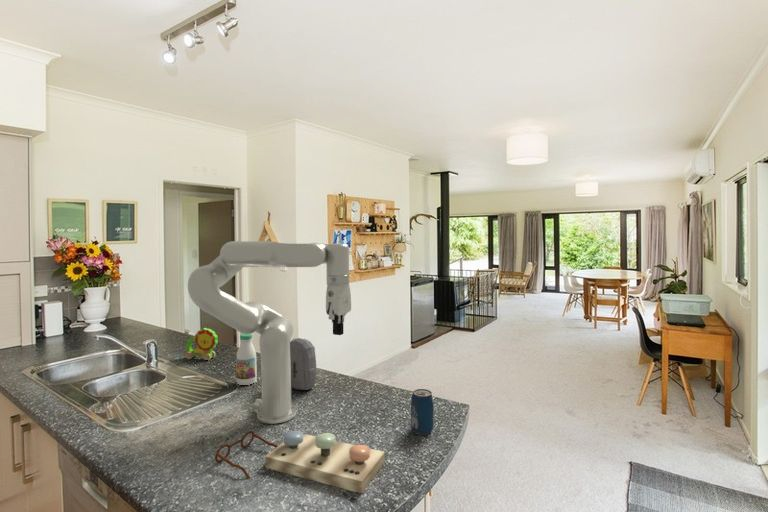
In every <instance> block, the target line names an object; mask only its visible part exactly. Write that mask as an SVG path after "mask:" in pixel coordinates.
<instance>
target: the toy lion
mask: <svg viewBox="0 0 768 512" xmlns="http://www.w3.org/2000/svg"><path fill="white" fill-rule="evenodd" d="M218 338H219V337H218V335H217V333H216V331H214V330H213V329H211V328H207V327H204V328H202V329H200V330H198V331H197V332H196V333H195V334H194V336H191V337H190V338H189V339H188V340H187V342H186V346H185V347H186V350H185V351H186V353H185V354H184V356H185V359H186V358H187V359H186V360H188V359H189V360H191V359H193V358H195V357H194V356H196V357H198V356H199V357H202V359H203V361H205V360H208V361H210V360H211V358H212V359H214V358H216V352H215V351H214V349H215V348H216V347H217V345H218V343H219V340H218ZM193 342H195V343H196V345H197V346H196V347H195V348H193V346H192V344H193Z"/></svg>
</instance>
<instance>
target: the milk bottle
mask: <svg viewBox="0 0 768 512" xmlns="http://www.w3.org/2000/svg"><path fill="white" fill-rule="evenodd" d="M252 334H253V333H251V334H243V333H241V334H240V335H239V341H240V345H239V348H238V350H237V352H236V383H237V385H238V384H239V385H238V386H240V385H248V386H251V385H250V384H252V385H254V384H253V383H255V382H256V383H257V380H258V375H257V374H258V373H257V372H258V371H257V365H258V364H257V352H256V350H255V347H254V345H253V342H252V341H253V335H252ZM256 383H255V384H256Z"/></svg>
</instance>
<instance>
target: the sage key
mask: <svg viewBox="0 0 768 512" xmlns="http://www.w3.org/2000/svg"><path fill="white" fill-rule="evenodd" d="M335 441H336V435H335V434H333V433H331V432H323V433H319V434H318V435H316V438H315V445H316V447H317V448H320V449H328V448H331V447H333V446H334V445H335Z"/></svg>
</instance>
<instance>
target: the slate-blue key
mask: <svg viewBox="0 0 768 512" xmlns="http://www.w3.org/2000/svg"><path fill="white" fill-rule="evenodd" d="M303 434H304V433H303V431H302V430H301V431H300V430H297V429H296V430H289V431H287V432H285V433H284V434H283V442H284V444H286V445H289V446H294V445H298V444H300V443H302V442H303Z"/></svg>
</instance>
